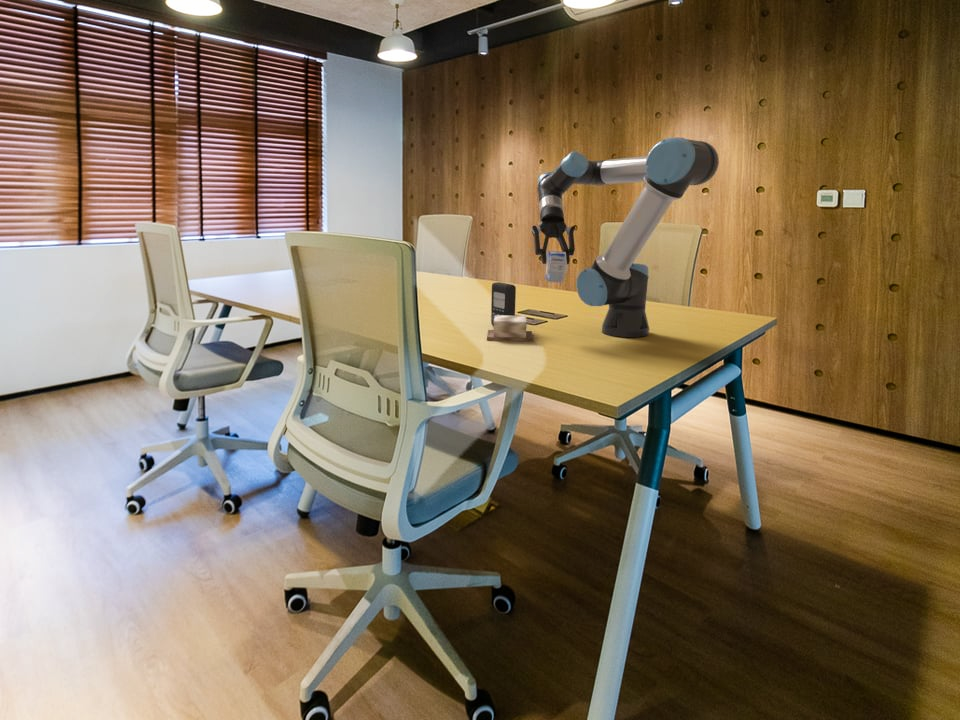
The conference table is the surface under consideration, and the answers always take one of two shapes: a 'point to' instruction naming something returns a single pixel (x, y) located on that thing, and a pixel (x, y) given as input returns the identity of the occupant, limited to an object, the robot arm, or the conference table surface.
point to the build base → (510, 329)
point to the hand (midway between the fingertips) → (556, 271)
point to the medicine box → (556, 266)
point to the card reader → (502, 300)
